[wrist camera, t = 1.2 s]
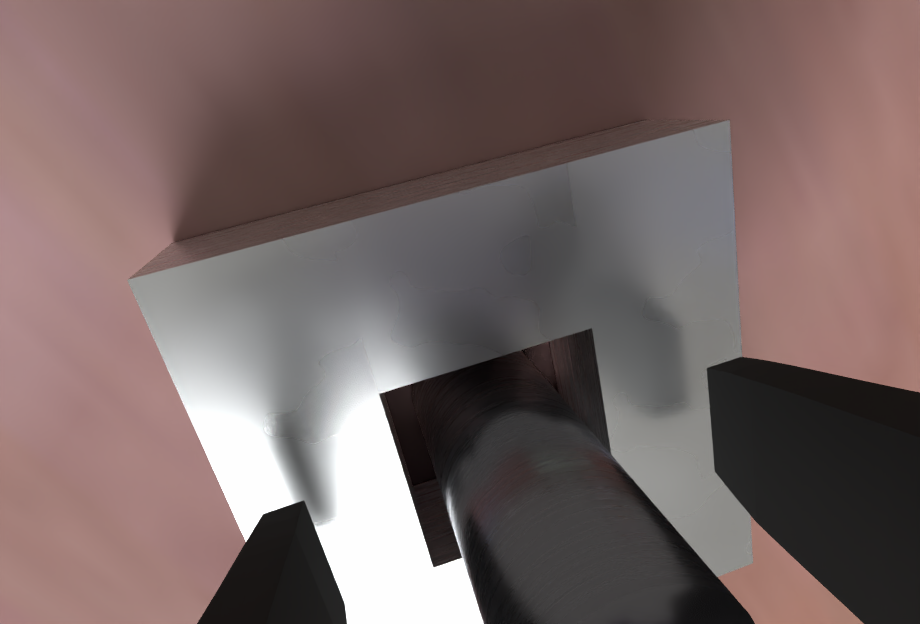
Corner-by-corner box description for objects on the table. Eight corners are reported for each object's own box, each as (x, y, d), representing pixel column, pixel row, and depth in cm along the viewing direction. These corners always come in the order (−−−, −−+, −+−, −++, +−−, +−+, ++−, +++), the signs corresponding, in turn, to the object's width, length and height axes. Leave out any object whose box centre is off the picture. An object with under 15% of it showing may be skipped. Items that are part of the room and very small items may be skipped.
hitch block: (645, 119, 11) (729, 119, 9) (683, 492, 14) (752, 563, 12) (171, 243, 10) (126, 279, 8) (328, 619, 13) (329, 725, 11)
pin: (520, 316, 12) (755, 549, 5) (541, 422, 13) (764, 730, 6) (398, 352, 12) (495, 648, 5) (429, 458, 12) (544, 824, 6)
